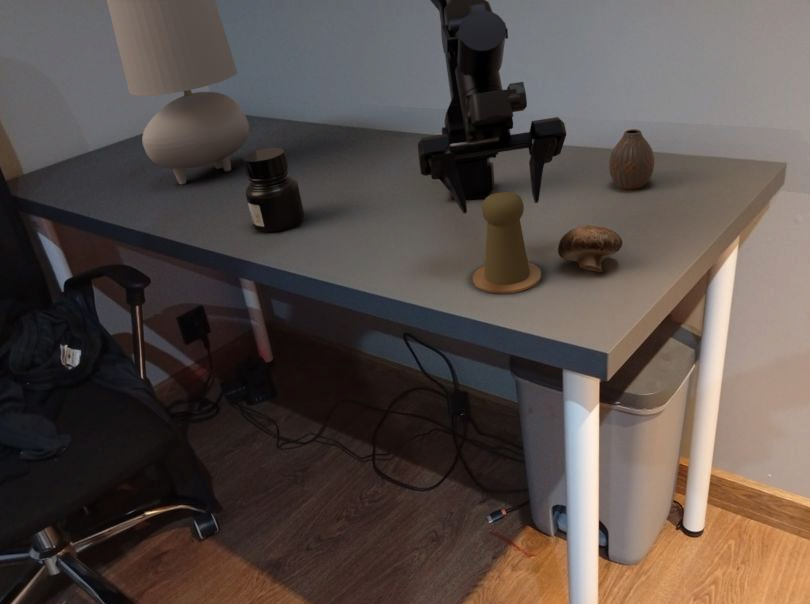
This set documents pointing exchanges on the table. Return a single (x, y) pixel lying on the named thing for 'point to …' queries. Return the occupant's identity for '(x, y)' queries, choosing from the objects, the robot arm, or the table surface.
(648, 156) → the vase
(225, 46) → the table lamp
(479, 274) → the coaster
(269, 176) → the ink bottle
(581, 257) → the mushroom
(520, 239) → the pepper shaker
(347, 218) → the table surface
